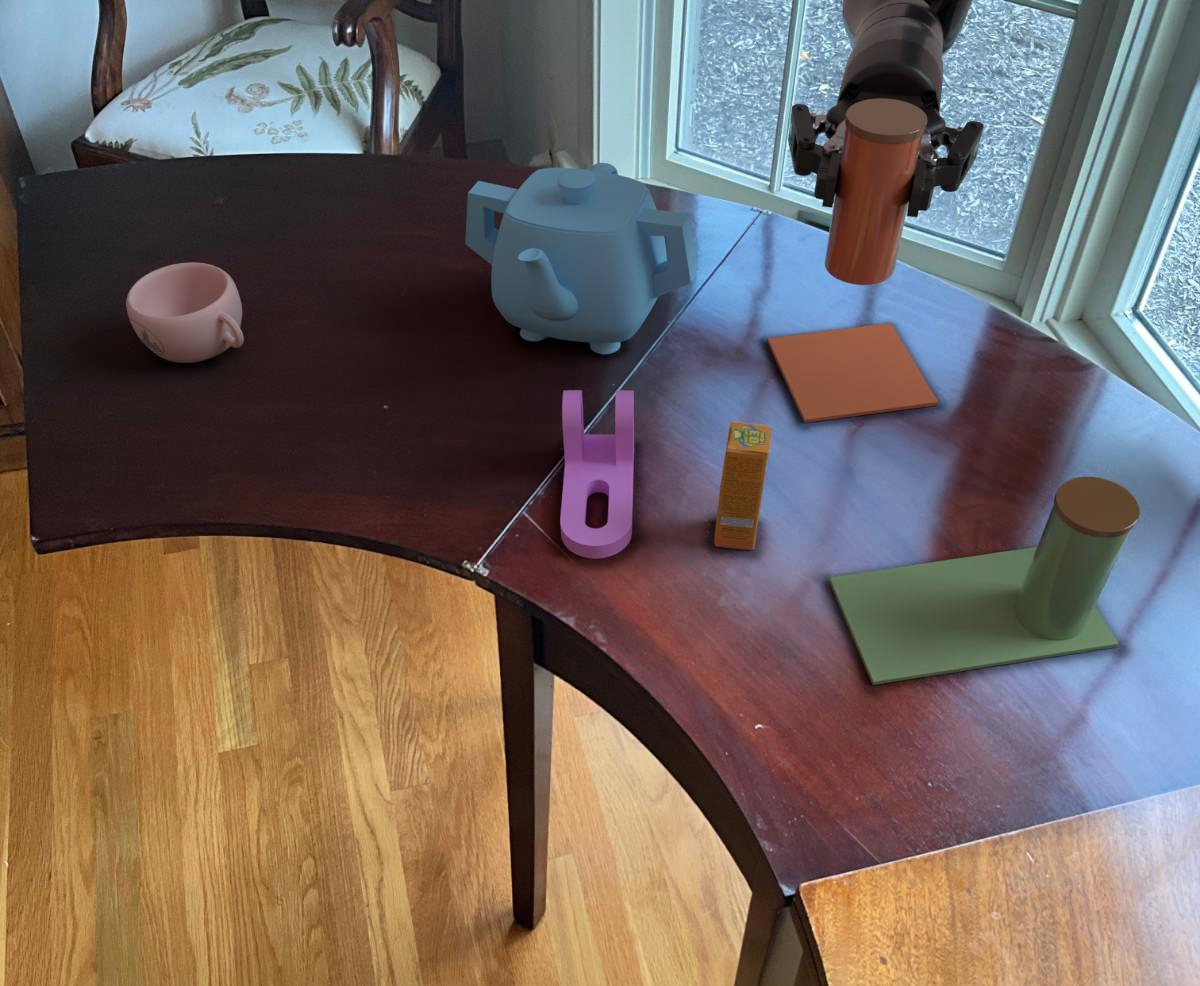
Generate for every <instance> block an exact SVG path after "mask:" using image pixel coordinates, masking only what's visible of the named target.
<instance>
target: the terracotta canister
mask: <svg viewBox="0 0 1200 986" xmlns="http://www.w3.org/2000/svg"><path fill="white" fill-rule="evenodd" d="M845 125H846V128H845V135H844V141H843V147H842V154H841V160H840V168H839V174H838V180H837V187H836V193H835V198H834V202H833V207H832V212H831V219H830V225H829V230H828V238H827V244H826V249H825V256H824V269H825V270H826V271H827V272H828V274H829V275H830V276H831V277H833V278H835V280H838V281H841V282H843V283H847V284H851V285H856V286H872V285H877V284H881V283H883V282H885V281H887V280H889V279H890V278H891V277H892V276H893V274H894V272H895V269H896V264H897V260H898V254H899V250H900V246H901V240H902V236H903V231H904V225H905V220H906V217H907V210H908V203H909V197H910V193H911V188H912V183H913V178H914V174H915V169H916V165H917V160H918V155H919V150H920V146H921V141H922V136H923V133H924V132H925V130H926V125H927V116H926V114H925V113H924V112H923V111H922V110H921V109H920V108H918V107H917V106H915V105H913V104H910V103H907V102H904V101H900V100H895V99H883V98H880V99H868V100H863V101H860V102H858V103H855V104H853V105H852V106H851V107H850V108H849V109H848V110H847V113H846V118H845Z"/></svg>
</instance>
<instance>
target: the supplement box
mask: <svg viewBox="0 0 1200 986" xmlns="http://www.w3.org/2000/svg"><path fill="white" fill-rule="evenodd" d="M772 430H773V429H772V427H771V426H769V425H764V424H757V423H748V422H739V421H730V422H729V427H728V435H727V442H726V447H725V454H724V460H723V465H722V466H723V467H722V472H721V475H722V476H721V479H720V485H719V494H718V505H717V512H716V519H715V529H714V539H713V541H714V542H713V544H714V546H715V547H717V548H726V549H735V550H736V549H737V550H748V551H752V550H754V549H755V546H756V541H757V533H758V525H759V519H760V512H761V506H762V500H763V494H764V486H765V480H766V472H767V467H768V461H769V455H770V450H771V442H772V441H771V440H772Z"/></svg>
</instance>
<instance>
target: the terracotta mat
mask: <svg viewBox="0 0 1200 986" xmlns="http://www.w3.org/2000/svg"><path fill="white" fill-rule="evenodd" d="M766 343H767V344H768V346H769V349H770V351H771V354H772V355H773V358H774V360H775V362H776V364H777V367H778V368H779V369H778V370H779V371H780V373H781V376H782V377H783V380H784V382H785V384H786V386H787V388H788V390H789V392H790V395H791V397H792V399H793V401H794V403H795V406H796V408H797V410H798V412H799V415H800V417H801V418H802V421H803V423H804V424H806V423H815V422H822V421H830V420H837V419H844V418H852V417H858V416H859V417H860V416H865V415H866V416H867V415H874V414H881V413H889V412H897V411H905V410H911V409H920V408H926V407H927V408H928V407H934V406H938V404H939V401H938V398H937V397H936V395H935V394H934V392H933V391H932V389H931V387H930V386H929V384H928V382H927V380H926V378H925V377H924V376H923V373H922V371H921V370H920V368H919V367H918V365H917V363H916V362H915V360H914V358H913V357H912V355H911V353H910V352H909V350H908V348H907V347H906V345H905V343H904V342H903V340H902V337H900V335H899V333H898V332H897V329H896V328H895V327H894V325H893V323H892V322H886V323H878V324H871V325H862V326H855V327H847V328H839V329H838V328H837V329H831V330H823V331H815V332H807V333H800V334H799V333H798V334H792V335H782V336H775V337H768V338H767V340H766Z"/></svg>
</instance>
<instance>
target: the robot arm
mask: <svg viewBox="0 0 1200 986" xmlns="http://www.w3.org/2000/svg"><path fill="white" fill-rule="evenodd" d="M973 1H974V0H842V4H841V5H842V6H841V7H842V9H841V17H842V24H843V28H844V30H845V33H846V36H847V39H848V41H849V44H850V46H851V49H852V50H851V52H850V54H849V57H848V58H847V61H846V64H845V68H844V71H843V75H842V80H841V83H840V88H839V92H838V96H837V101H836V104H835V105H834V106H832V107H830V108H829V109H828V111H827V112H826V114H816V112H810V107H809V106H808V105H806V104H805V103H795V104H793V105H791V109H790V110H791V111H790V119H789V128H788V136H787V142H788V146H789V152H790V157H791V161H792V162H791V163H792V167H793V171H794V174H795V175H797V176H800V177H807V176H810V175H811V174H812V173H813V174H815V175H816V177H815V179H816V180H815V186H814V192H813V196H814V197H815V199H816V200H817V199H818V200H822V204H821V205H822V206H821V207H823V208H831V209H833V205H834V199H835V193H836V187H837V180H838V174H839V168H840V160H841V154H842V147H843V141H844V135H845V128H846V125H845V118H846V113H847V110H848V109H849V108H850V107H851V106H852V105H853V104H855V103H858V102H860V101H863V100H868V99H880V98H883V99H895V100H900V101H904V102H907V103H910V104H913V105H915V106H917V107H918V108H920V109H921V110H922V111H923V112H924V113H925V114H926V116H927V125H926V130H925V132H924V133H923V136H922V141H921V146H920V150H919V155H918V160H917V165H916V169H915V174H914V178H913V183H912V188H911V193H910V197H909V203H908V207H907V212H906V217H910V218H918V216H919V212H920V211H921V212H927V211H928V210H929V209H930V208H931V203H932V199H933V195H934V189H935V188H936V187H939V189H941V190H942V191H943V192H946V193H955V192H957V191H958V190H959V188H960V186H961V185H962V184H963V182H964V180H965V178H966V176H967V175H968V173H969V171H970V169H971V168H972V166H973V164H974V163H975V161H976V159H977V155H978V151H979V147H980V144H981V140H982V135H983V131H984V127H985V124H984V123H982V122H981V121H978V120H970V121H967V122H966V123H965V125H964V126H963V127H962V126H957V128H954V127H950V126H947V123H946V121H945V119H944V117H942V116H941V115H940V112H941V101H942V93H943V82H944V61H943V57H944V56H945V55H946V54H947V53H948V52H949V51H950V50H951V49H952V48H953V46H954V44H955V43H956V41H957V40H958V38H959V35H960V33H961V31H962V29H963V27H964V24H965V21H966V19H967V16H968V14H969V11H970V8H971V7H972V4H973ZM821 134H824V135H825V137H826V138H827V139H828V140H827V141H825V142H824V143H823V145H821V144H817V140H818V138H819V136H820V135H821ZM941 146H943V147H945V149H946V150H945V152H946V153H947V156H946V157H940V156H939V154H938V152H937V150H938V149H939V148H940V147H941Z"/></svg>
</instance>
